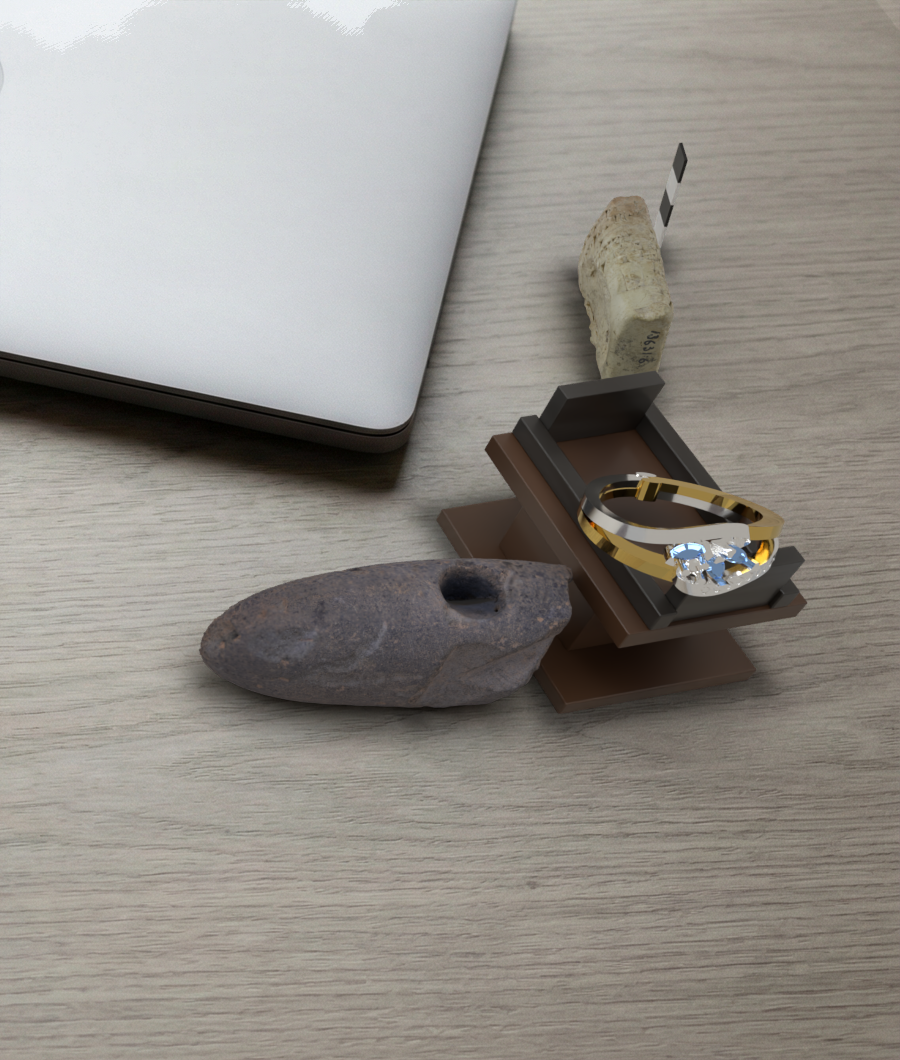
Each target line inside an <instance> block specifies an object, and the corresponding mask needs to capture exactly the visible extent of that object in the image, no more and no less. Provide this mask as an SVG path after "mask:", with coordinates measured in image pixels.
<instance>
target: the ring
mask: <svg viewBox="0 0 900 1060" xmlns="http://www.w3.org/2000/svg"><path fill="white" fill-rule="evenodd" d="M722 491H723V490H722ZM722 491H719V490H715V489H712V488H708V487H704V486H700V485H696V484H692V483H687V482H682V481H677V480H672V479H666V478H660V477H656V475H654V474H650V473H644V472H636V474H635V475H633V474H619V475H609V476H603V477H600V478H597V479H594V480H593V481H591V482H590V483H589V484H588V485H587V486H586V488H585V491H584V493H583V495H582V497H581V500H580V503H579V506H578V509H577V517H578V521H579V524H580V526H581V528H582V529H583V531H584V532H585V534H586V535H587V536H588V537H589V539H590V540H591V541H592V542H593V543H594V544H595V545H597V546H598V547H599V548H600V549H601V550H603V551H604V552H606V553H607V554H608V555H610V556H611V557H613V558H615V559H616V560H618V561H620V562H622V563H624V564H626V565H628V566H630V567H632V568H634V569H636V570H639V571H641V572H643V573H646V574H649V575H651V576H654V577H657V578H660V579H664V580H667V581H671V582H673V584H674V585H675V586H676V587H677V588H678V589H679V590H680V591H682V592H684V593H686V594H689V595H693V596H713V595H718V594H722V593H725V592H728V591H731V590H733V589H736V588H738V587H741V586H743V585H745V584H747V583H749V582H751V581H753V580H755V579H757V578H759V577H760V576H762V575H763V574H765V573H766V572H767V571H768V570H769V569H770V567H771V566H772V564H773V561H774V558H775V555H776V553H777V550H778V548H780V546H779V545H780V540H779V537H780V536H781V535H782V532H783V528H784V526H785V523H786V521H785V519H784V518H783V517H782V516H781V515H779V514H778V513H776V512H775V511H773V510H771V509H769V508H767V507H764V506H762V505H760V504H758V503H756V502H753V501H751V500H748V499H745V498H742V497H740V496H737V495H735V494H731V493H728V492H725V491H723V492H722ZM618 497H635V498H636V499H638V500H642V501H649V502H655V501H656V499H660V500H666V501H671V502H676V503H680V504H685V505H689V506H692V507H696V508H699V509H702V510H705V511H708V512H711V513H714V514H716V515H719V516H721V517H723V518H726V519H728V520H730V521H732V522H734V523H716V524H708V525H700V526H692V527H681V528H655V527H648V526H643V525H639V524H635V523H632V522H630V521H627V520H625V519H623V518H621V517H619V516H617V515H616V514H614V513H612V512H611V511H610V510H608V509H607V508H606V507H605V506H604V505H603V504H602V502H604V501H606V500H609V499H612V498H618ZM622 537H623V538H622ZM624 538H626V539H630V540H633V541H638V542H643V543H652V544H672V545H671V546H670V545H668V546H666V547H665V548H664V549H663V550H662V551H663V555H661V554H658V553H654V552H651V551H649V550H646V549H643V548H641V547H639V546H636V545H634V544H632V543H630V542H629V541H627V540H625V539H624ZM718 538H721V539H718ZM711 539H718V540H712V541H711V542H708V541H705V540H711ZM750 540H755V542H756V544H757V549H758V551H757V552H756V553H755V554H754V555H753V556H752V557H749V556H747V555H746V553H745V552H744V550H742V549H741V548H742V547H744V546H746V545H748V544H749V543H750ZM725 560H727V561H729V562H732V563H736V564H738V565H736V566H734V567H732V568H729V569H727V570H725V564H724V561H725ZM703 571H705V572H706V573H707V576H704V575H703V573H702V572H703ZM690 574H694V575H695V577H693V576H690Z"/></svg>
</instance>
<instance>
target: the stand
mask: <svg viewBox="0 0 900 1060" xmlns="http://www.w3.org/2000/svg"><path fill="white" fill-rule="evenodd" d="M665 385H666V382H665V380H664V379H663V377H662V376H661V375H660V374H659V372H658V373H657V372H656V371H649V372H643V373H637V374H630V375H624V376H618V377H611V378H605V379H601V378H600V379H593V380H586V381H580V382H575V383H568V384H567V383H566V384H561V385H558V386H557V387H556V389H555V391H554V392H553V394H552V395H551V398H550V399H549V401H548V403H547V404H546V405H545V407H544V410H542V412H541V414H540V416H538V415H537V414H530V415H525V416H521V417H519V418H518V420H517V422H516V424H515V425H514V427H513V429H512V431H510V432H504V433H497V434H493V435H491V437H490V439H489V441H488V442H487V444H486V446H485V447H484V452H485V453H486V455H487V456H488V457H489V460H490V461H491V462H492V464H493V465H494V466H495V468H496V469H497V471H498V472H499V474H500V476H501V477H502V478H503V480H504V481H505V483H506V484H507V486H508V487H509V488H510V490H511V492H512V493H513V494H514V497H509V498H501V499H496V500H490V501H485V502H484V501H483V502H477V503H472V504H465V505H460V506H453V507H447V508H442V509H441V510H440V512H439V514H438V515H437V517H436V518H435V519H436V522H437V524H438V525H439V527H440V528H441V530H442V532H443V533H444V535H445V536H446V538H447V539H448V541H449V543H450V544H451V546H452V547H453V549H454V550H455V553H457V555H458V557H459V559H460V558H464V559H471V558H481V559H502V560H523V561H532V562H542V563H547V564H555V565H558V564H560V565H566V566H567V567H569V568H571V569H572V573H573V579H572V581H571V582H570V583H569V584H568V588H569V591H568V593H569V601H570V604H571V607H572V614H571V618H570V620H569V622H568V623H567V626H565V627H564V629H563V630H562V631H561V632H560V633H559V634H557V635H556V636H555V637H554V638H553V641H552V643H551V645H550V646H549V648H548V650H547V652H546V653H545V655H544V657H543V658H542V659H541V662H540V666H539V669H538V670H535V671H534V673H533V676H534V677H535V679H536V681H537V682H538V684H539V685H540V687H541V689H542V690H543V692H544V694H545V695H546V697H547V698H548V700H549V702H550V703H551V705H552V706H553V708H554V709H555V711H556V713H557V714H559V715H562V714H569V713H574V712H579V711H585V710H590V709H596V708H600V707H607V706H612V705H617V704H622V703H628V702H634V701H640V700H644V699H645V700H646V699H651V698H655V697H656V698H657V697H660V696H667V695H672V694H677V693H683V692H688V691H695V690H700V689H705V688H711V687H717V686H722V685H726V684H733V683H739V682H743V681H748V680H749V679H750V678H751V677H752V676H754V674H755V673H756V671H757V668H756V666H755V665H754V663H752V661H751V660H750V658H749V657H748V656H747V654H746V653H745V652H744V650H743V649H742V648H741V646H740V645H739V643H738V642H737V640H736V639H735V638H734V637H733V635H732V634H731V632H730V631H729V629H735V628H741V627H745V626H752V625H757V624H762V623H768V622H773V621H779V620H785V619H792V618H796V617H797V616H798V615H799V614H800V613H801V611H802V610H803V609H804V608H805V607H806V606H807V604H808V601H807V600H806V598H805V597H804V596H803V594H802V593H801V591H800V589H799V588H798V586H797V585H796V584H795V583H794V582H793V580H792V579H791V578H792V577H793V576H794V575H795V573H797V571H798V570H799V569H800V568H801V566H802V565H804V563H805V562H806V560H805V558H804V556H803V555H802V554H801V552H800V551H799V550H798V549H797V548H796V546H795V545H789V546H784V547H778V550H777V553H776V555H775V558H774V561H773V564H772V566H771V567H770V569H769V570H768V571H767V572H766V573H765V574H763V575H762V576H760V577H759V578H757V579H755V580H753V581H751V582H749V583H747V584H745V585H743V586H741V587H738V588H736V589H733V590H731V591H728V592H725V593H722V594H718V595H713V596H693V595H689V594H686V593H684V592H682V591H680V590H679V589H678V588H677V587H676V586H675V585H674V584H673V582H671V581H667V580H664V579H660V578H657V577H654V576H651V575H649V574H646V573H643V572H641V571H639V570H636V569H634V568H632V567H630V566H628V565H626V564H624V563H622V562H620V561H618V560H616V559H615V558H613V557H611V556H610V555H608V554H607V553H606V552H604V551H603V550H601V549H600V548H599V547H598V546H597V545H595V544H594V543H593V542H592V541H591V540H590V539H589V537H588V536H587V535H586V534H585V532H584V531H583V529H582V528H581V526H580V524H579V521H578V517H577V509H578V506H579V503H580V500H581V497H582V495H583V493H584V491H585V488H586V486H587V485H588V484H589V483H590V482H591V481H593V480H594V479H597V478H600V477H603V476H609V475H619V474H633V475H635V474H636V472H644V473H650V474H654V475H656V477H660V478H666V479H672V480H677V481H682V482H687V483H692V484H696V485H700V486H704V487H708V488H712V489H715V490H719V491H722V492H724V491H723V490H722V489H721V488H720V486H719V485H718V483H717V482H716V481H715V480H714V479H713V477H712V476H711V474H710V473H709V472H708V471H707V470H706V468H705V467H704V466H703V464H702V463H701V462H700V461H699V459H698V458H697V456H696V455H695V454H694V453H693V451H692V450H691V449H690V447H689V446H688V445H687V444H686V442H685V441H684V439H682V437H681V436H680V435H679V433H678V432H677V431H676V430H675V428H674V427H673V425H672V424H671V423H670V422H669V421H668V419H667V418H666V417H665V415H664V414H663V412H661V410H660V408H658V406H657V405H656V404H655V402H654V401H655V400H656V398H657V397H658V395H659V394H660V392H662V389H663V388H664V387H665ZM602 504H603V505H604V506H605V507H606V508H607V509H608V510H610V511H611V512H612V513H614V514H616V515H617V516H619V517H621V518H623V519H625V520H627V521H630V522H632V523H635V524H639V525H643V526H648V527H655V528H681V527H692V526H700V525H708V524H716V523H734V522H732V521H730V520H728V519H726V518H723V517H721V516H719V515H716V514H714V513H711V512H708V511H705V510H702V509H699V508H696V507H692V506H689V505H685V504H680V503H676V502H671V501H666V500H660V499H656V501H655V502H649V501H642V500H638V499H636V498H635V497H618V498H612V499H609V500H606V501H604V502H602ZM622 538H623V537H622ZM624 539H625V540H627V541H629V542H630V543H632V544H634V545H636V546H639V547H641V548H643V549H646V550H649V551H651V552H654V553H658V554H661V555H663V551H662V550H663V549H664V548H665V547H666V546H668V545H670V546H671V545H672V544H652V543H643V542H638V541H633V540H630V539H626V538H624ZM718 539H721V538H718ZM718 539H711V540H705V541H708V542H711V541H712V540H718ZM741 549H742V550H744V552H745V553H746V555H747V556H749V557H752V556H753V555H754V554H755V553H756V552H757V551H758V549H757V544H756V542H755V540H750V543H749V544H748V545H746V546H744V547H742V548H741ZM724 564H725V570H727V569H729V568H732V567H734V566H736V565H738V564H736V563H732V562H729V561H727V560H725V561H724ZM702 573H703V575H704V576H707V573H706V572H705V571H703V572H702ZM690 576H693V577H695V575H694V574H690Z"/></svg>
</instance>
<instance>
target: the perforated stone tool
mask: <svg viewBox="0 0 900 1060" xmlns="http://www.w3.org/2000/svg"><path fill="white" fill-rule="evenodd" d="M572 579H573V573H572V569H571V568H569V567H567V566H566V565H560V564H558V565H555V564H547V563H542V562H532V561H523V560H502V559H481V558H471V559H464V558H460V557H459V558H457V557H456V558H432V559H431V558H430V559H421V560H420V559H419V560H405V561H394V562H385V563H375V564H369V565H362V566H356V567H350V568H346V569H343V570H334V571H328V572H324V573H318V574H315V575H310V576H305V577H301V578H297V579H294V580H289V581H286V582H283V583H280V584H277V585H273V586H272V587H268V588H265V589H263V590H260V591H258V592H254V594H253V593H252V594H251V595H249V596H247V597H246V598H244V599H241V600H239V601H237V602H236V603H235V604H233V605H231V606H229V608H228V609H226V610H224V611H223V613H221V615H218V616H216V617H215V618H213V620H212V622H211V623H209V625H208V626H207V628H206V630H205V631H204V632H203V635H202V637H201V641H200V643H199V644H200V645H199V646H200V648H199V649H198V652H199V653H198V654H199V655H200V656H201V659H202V661H203V663H204V664H205V666H206V667H207V668H209V669H210V670H211V671H212V672H213V673H215V674H216V676H218V677H220V678H221V679H222V680H225V681H228V683H231V684H234V685H235V686H237V687H239V688H242V689H245V690H248V691H251V692H254V693H256V694H260V695H263V696H267V697H272V698H276V699H282V700H287V701H292V702H300V703H309V704H320V705H338V706H339V705H344V706H345V705H346V706H354V707H355V706H357V707H386V708H387V707H388V708H390V707H398V708H422V707H429V708H434V709H435V708H443V709H444V708H450V707H457V706H472V705H473V706H478V705H488V704H492V703H493V702H496V701H498V700H501V699H504V698H506V697H510V696H511V695H513V694H514V693H516V692H517V691H518V690H519V689H521V688H523V687H526V685H527V684H528V683H529V682H530V681H531V679H532V677H533V676H534V674H533V673H534V671H535V670H538V669H539V666H540V662H541V659H542V658H543V657H544V655H545V653H546V652H547V650H548V648H549V646H550V645H551V643H552V641H553V638H554V637H555V636H556V635H557V634H559V633H560V632H561V631H562V630H563V629H564V627H565V626H567V623H568V622H569V620H570V618H571V614H572V607H571V604H570V601H569V593H568V591H569V588H568V584H569V583H570V582H571V581H572Z"/></svg>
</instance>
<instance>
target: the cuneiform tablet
mask: <svg viewBox="0 0 900 1060" xmlns="http://www.w3.org/2000/svg"><path fill="white" fill-rule="evenodd" d="M687 165H688V156H687V153H686V150H685V146H684V143H683V142H678V146H677V149H676V152H675V155H674V159H673V161H672V165H671V169H670V172H669V175H668V179H667V182H666V186H665V188H664V192H663V195H662V198H661V201H660V204H659V205H660V206H659V209H658V212H657V216H656V218H655V222H654V225H653V223H652V220H651V217H650V216H651V215H650V213H649V211H650V210H649V206H648V204H647V202H646V201H645V199H644V198H643V197H642V196H640V195H630V196H616V197H614V198H613V199H611V200H610V202H608V204H607V205H606V207H604V210H603V211H602V212H601V214H600V215H599V217H598V218H597V219H596V220H595V222H594V223H593V225H592V227H591V228H590V230H589V232H588V233H587V235H586V237H585V239H584V242H583V246H582V248H581V252H580V254H579V257H578V264H577V275H578V283H577V284H578V287H579V292H580V293H581V296H582V298H584V303H583V304H584V306H583V307H585V312H586V315H587V316H588V318H589V320H590V324H589V325H588V328H589V330H590V334H591V336H590V338H589V340H590V343H591V344H592V345H593V346H594V348H595V350H596V351H595V360H596V364H597V365H596V366H597V368H598V372H599V375H600V379H605V378H611V377H618V376H624V375H630V374H637V373H643V372H649V371H656V372H657V373H658V374H659V371H660V367H661V363H662V362H661V361H662V356H663V352H664V349H665V348H666V342H667V337H668V335H669V334H670V329H671V326H672V323H673V322H674V319H675V318H674V317H675V316H674V315H675V314H674V311H675V306H674V303H673V302H672V298H671V293H670V289H669V285H668V281H667V279H666V271H665V268H664V259H663V258H662V255H661V254H662V253H661V248H662V245H663V242H664V238H665V235H666V232H667V229H668V226H669V222H670V220H671V216H672V212H673V210H674V206H675V203H676V200H677V197H678V193H679V190H680V187H681V184H682V180H683V178H684V174H685V170H686V167H687Z"/></svg>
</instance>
